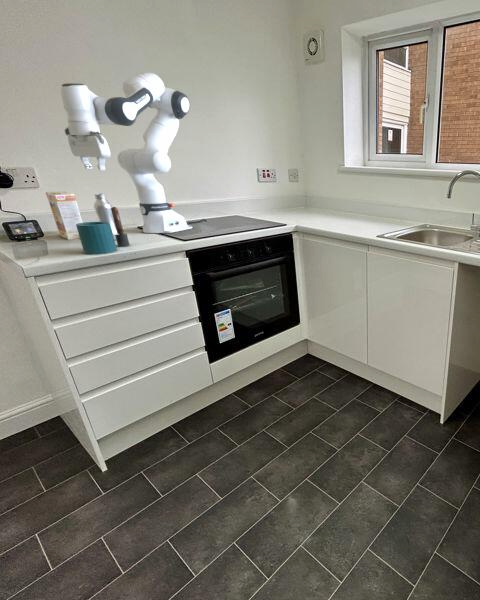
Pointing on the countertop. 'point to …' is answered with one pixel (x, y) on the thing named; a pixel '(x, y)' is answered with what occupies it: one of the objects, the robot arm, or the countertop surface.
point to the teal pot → (96, 237)
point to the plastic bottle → (104, 211)
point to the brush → (119, 229)
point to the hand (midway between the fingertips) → (95, 169)
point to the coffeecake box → (65, 213)
